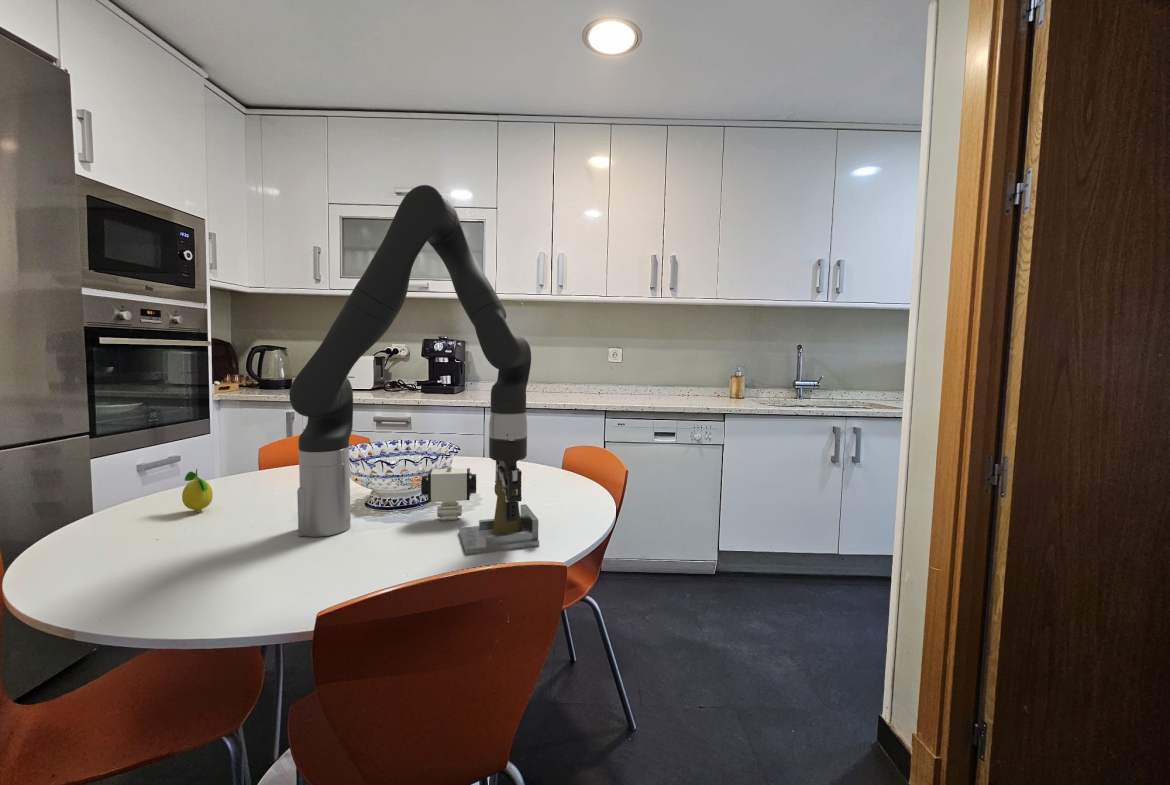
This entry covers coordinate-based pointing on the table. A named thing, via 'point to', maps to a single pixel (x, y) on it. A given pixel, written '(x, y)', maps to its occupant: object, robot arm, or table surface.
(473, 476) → the pneumatic valve
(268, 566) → the table surface
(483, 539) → the bracket
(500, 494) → the cork
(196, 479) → the lemon
